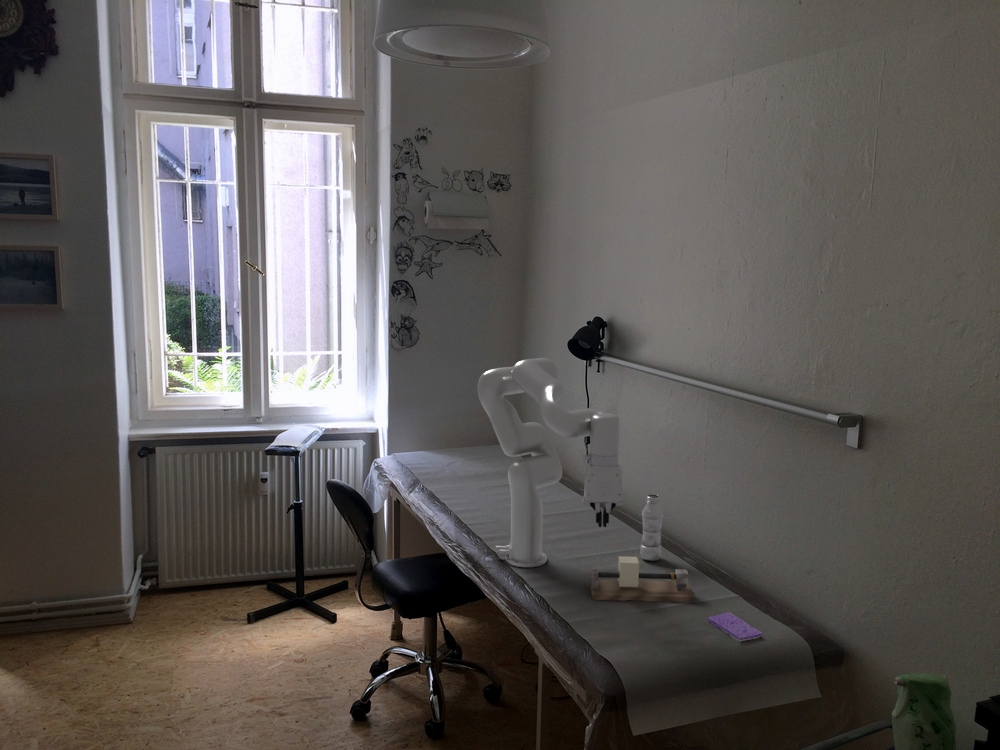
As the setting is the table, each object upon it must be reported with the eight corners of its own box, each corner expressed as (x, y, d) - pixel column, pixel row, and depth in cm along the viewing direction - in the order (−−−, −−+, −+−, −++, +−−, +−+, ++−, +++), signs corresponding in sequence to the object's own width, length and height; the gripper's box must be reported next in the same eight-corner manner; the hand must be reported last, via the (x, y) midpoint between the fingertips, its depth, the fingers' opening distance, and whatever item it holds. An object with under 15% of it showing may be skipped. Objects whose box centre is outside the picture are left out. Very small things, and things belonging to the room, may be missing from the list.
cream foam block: (619, 586, 215) (620, 562, 214) (617, 579, 220) (618, 556, 219) (638, 587, 215) (639, 563, 214) (635, 580, 220) (636, 556, 219)
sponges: (739, 644, 190) (739, 637, 190) (706, 622, 202) (706, 615, 201) (762, 639, 193) (763, 632, 193) (728, 618, 204) (729, 611, 204)
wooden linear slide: (592, 599, 213) (593, 576, 212) (589, 584, 223) (590, 562, 222) (693, 602, 212) (694, 579, 211) (686, 586, 222) (687, 564, 221)
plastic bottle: (635, 557, 244) (637, 494, 241) (654, 554, 247) (657, 492, 244) (646, 564, 238) (649, 500, 235) (665, 561, 241) (668, 498, 238)
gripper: (576, 462, 209) (574, 529, 212) (634, 463, 209) (632, 530, 212) (574, 455, 217) (573, 520, 219) (630, 456, 216) (628, 521, 219)
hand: (602, 525), depth 215 cm, fingers closed
